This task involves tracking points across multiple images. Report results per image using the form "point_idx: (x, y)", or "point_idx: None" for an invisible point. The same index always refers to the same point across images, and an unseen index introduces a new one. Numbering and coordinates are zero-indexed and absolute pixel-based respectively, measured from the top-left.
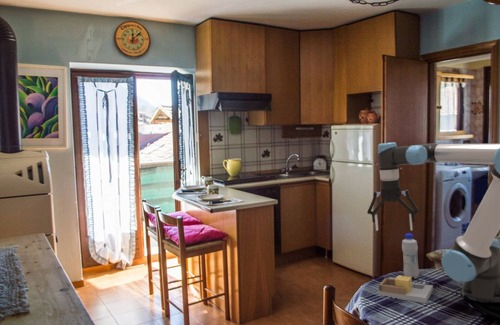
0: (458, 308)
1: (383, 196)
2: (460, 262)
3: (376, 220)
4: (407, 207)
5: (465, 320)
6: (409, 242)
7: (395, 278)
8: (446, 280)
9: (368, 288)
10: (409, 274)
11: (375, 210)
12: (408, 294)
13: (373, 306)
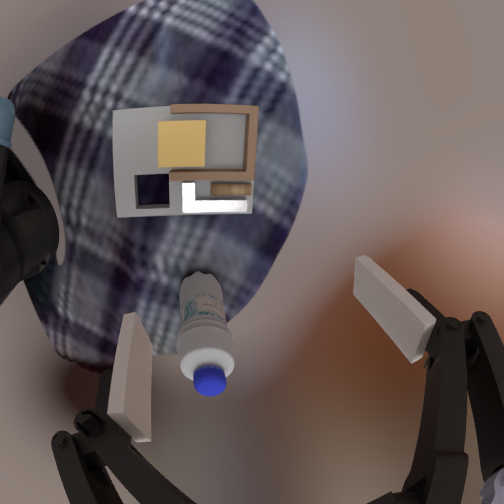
0: (47, 123)
1: None
2: None
3: (401, 297)
4: (134, 481)
5: (34, 68)
6: (199, 349)
7: (225, 207)
8: (115, 296)
9: (294, 156)
10: (200, 275)
11: (455, 355)
12: (163, 114)
13: (249, 36)
